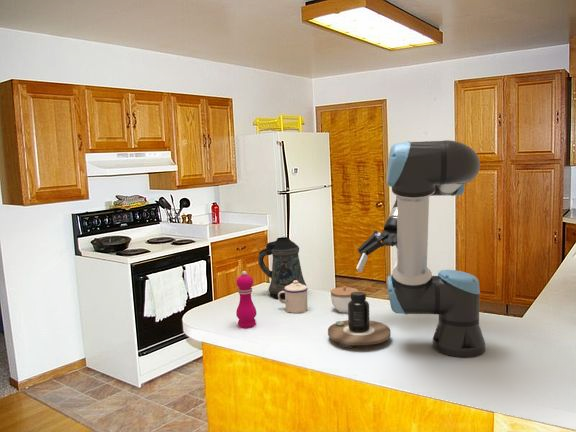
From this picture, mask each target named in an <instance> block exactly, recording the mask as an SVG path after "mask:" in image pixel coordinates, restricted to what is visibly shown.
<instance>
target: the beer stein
mask: <svg viewBox="0 0 576 432" xmlns="http://www.w3.org/2000/svg"><path fill="white" fill-rule="evenodd" d="M265 247H266V248H263V249H262V250H260V251H259V253H258V257H257V261H258V266H259V268H260V269H261V270H262V272H263V273H264V274H265V275H266V277H269V278H270V279H271V280H270V284H269V287H268V292H269V295H270V298H272V299H275V300H278V301H279V299H278V293H279V292H281V291H285V290H284V289H285V287H286V286H287V285H290V284H291V283H293V281H295V280H297V281H298V283H301V284H302V285H306V286H307V284H306V281H305V279H304V276H303V272H302V268H301V261H300V257H299V252H300V247H299V245H297V244H296V243H295V242H294V241H292V240H291V238H290V237H287V236H282V237H277V238H276V240H275V241H271V242H268V243H267V244H266V245H265ZM271 255H272V263H271V266H272V267H271V270H270V269H269V268H268V267H267V265H266V263H265V262H264V258H265V257H266V256H271ZM280 298H281V300H282V301H285V293H281V294H280Z"/></svg>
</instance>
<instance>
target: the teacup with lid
mask: <svg viewBox="0 0 576 432" xmlns="http://www.w3.org/2000/svg"><path fill="white" fill-rule="evenodd" d="M284 290H285V291H281V292H279V293H278V299H279V300H278V299H277V300H278V301H279V302H280V303H281V304H283V305H284V304H285V311H286V312H288V313H290V314H302V313H304V312H306V311H308V309H309V306H308V286H307V284H306V285H302V284H301V283H298V281H297V280H295V281H293V283H291V284H290V285H287V286H286V287H285V289H284ZM281 293H285V300H281V298H280V294H281Z"/></svg>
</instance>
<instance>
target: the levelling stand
mask: <svg viewBox="0 0 576 432" xmlns="http://www.w3.org/2000/svg"><path fill="white" fill-rule="evenodd" d="M327 335H328V337H329V339H331V340H333V341H335V342H337V343H339V347H340V348H341V349H345V350H346V349H352V348H354V346H373V345H377V344H384V343H387V342H388V340H389V339H390V337H391V329H390V327H389V326H388V325H386V324H384V323H382V322H379V321H376V320H370V329H369V330H368V331H367V332H362V333H357V332H352V331H350V330H349V326H348V319H347V320H337V321H335V322H334V323H333V324H331V325H330V326H329V327H328V329H327Z"/></svg>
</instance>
